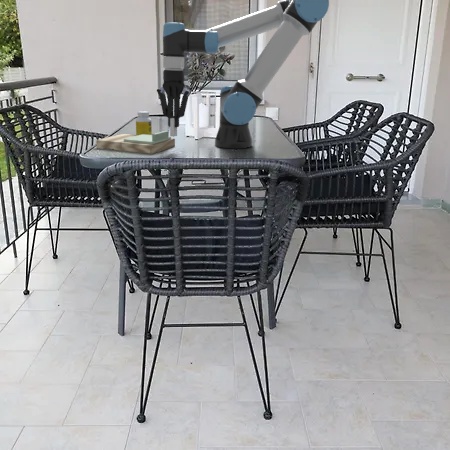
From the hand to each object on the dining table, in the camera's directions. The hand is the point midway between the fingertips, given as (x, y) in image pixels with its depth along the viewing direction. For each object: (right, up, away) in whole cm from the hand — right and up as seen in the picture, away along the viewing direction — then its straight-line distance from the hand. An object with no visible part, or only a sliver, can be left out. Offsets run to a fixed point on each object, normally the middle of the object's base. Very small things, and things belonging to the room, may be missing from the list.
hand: (173, 135), depth 178 cm
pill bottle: (-15, +2, +23) cm, 28 cm away
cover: (-10, -1, +5) cm, 11 cm away
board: (-15, -3, +7) cm, 17 cm away
